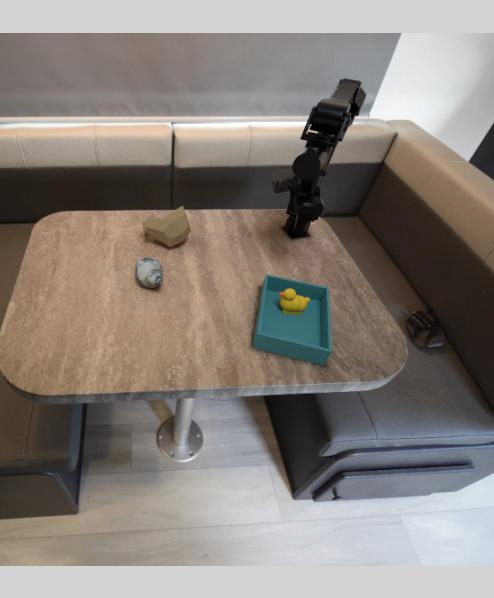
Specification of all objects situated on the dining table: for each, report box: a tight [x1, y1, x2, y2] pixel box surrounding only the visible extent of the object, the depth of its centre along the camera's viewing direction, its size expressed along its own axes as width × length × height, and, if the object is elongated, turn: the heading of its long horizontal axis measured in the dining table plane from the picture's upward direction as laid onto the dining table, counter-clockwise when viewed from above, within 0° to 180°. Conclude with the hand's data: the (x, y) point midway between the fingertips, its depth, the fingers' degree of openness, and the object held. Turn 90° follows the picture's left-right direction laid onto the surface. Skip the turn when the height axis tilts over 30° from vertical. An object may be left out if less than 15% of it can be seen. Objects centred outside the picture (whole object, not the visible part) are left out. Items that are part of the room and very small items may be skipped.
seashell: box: [135, 256, 163, 289], centre depth 91 cm, size 6×8×12 cm
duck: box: [279, 288, 310, 315], centre depth 84 cm, size 7×4×6 cm, turn 84°
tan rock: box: [141, 205, 192, 248], centre depth 102 cm, size 15×11×12 cm
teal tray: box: [251, 274, 333, 366], centre depth 82 cm, size 20×15×5 cm
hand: (293, 220), depth 93 cm, fingers open, 9 cm apart
